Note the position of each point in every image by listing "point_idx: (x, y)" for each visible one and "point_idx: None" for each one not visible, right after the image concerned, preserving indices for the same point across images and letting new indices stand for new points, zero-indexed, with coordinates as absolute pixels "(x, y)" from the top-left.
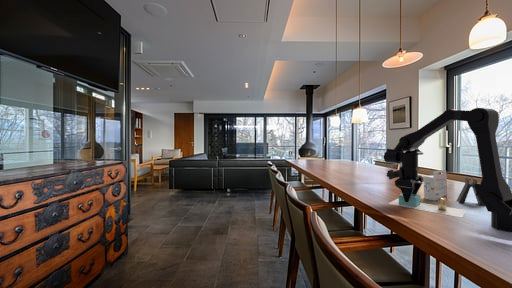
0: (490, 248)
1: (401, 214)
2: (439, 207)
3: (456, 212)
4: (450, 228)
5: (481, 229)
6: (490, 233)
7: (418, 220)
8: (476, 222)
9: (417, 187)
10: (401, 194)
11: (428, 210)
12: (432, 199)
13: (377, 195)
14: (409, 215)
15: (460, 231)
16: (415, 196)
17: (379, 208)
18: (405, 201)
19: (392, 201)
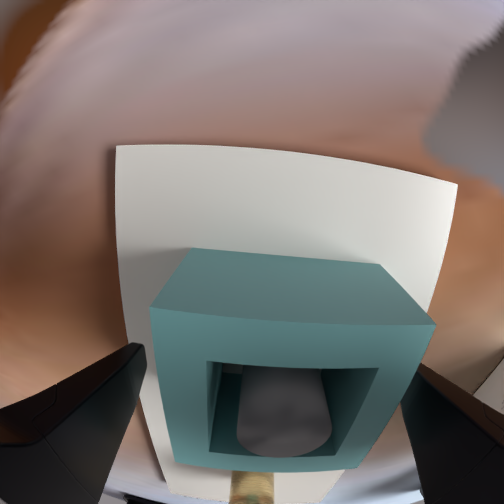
0: None
1: (13, 295)
2: (234, 479)
3: None
4: None
5: (120, 486)
6: (107, 487)
7: (14, 364)
8: (188, 498)
9: (435, 502)
10: (225, 340)
11: (168, 434)
12: (485, 400)
13: (492, 13)
14: (33, 334)
15: None
16: (233, 460)
17: (18, 130)
18: (130, 348)
19: (268, 153)
